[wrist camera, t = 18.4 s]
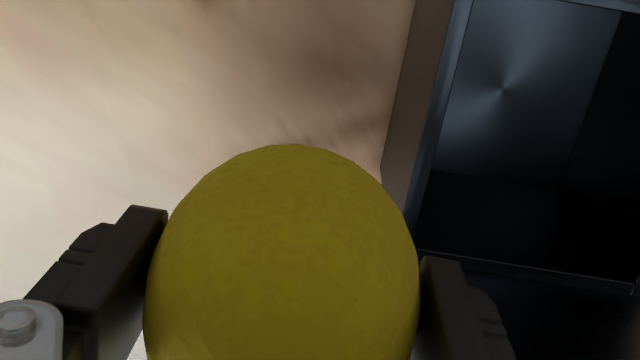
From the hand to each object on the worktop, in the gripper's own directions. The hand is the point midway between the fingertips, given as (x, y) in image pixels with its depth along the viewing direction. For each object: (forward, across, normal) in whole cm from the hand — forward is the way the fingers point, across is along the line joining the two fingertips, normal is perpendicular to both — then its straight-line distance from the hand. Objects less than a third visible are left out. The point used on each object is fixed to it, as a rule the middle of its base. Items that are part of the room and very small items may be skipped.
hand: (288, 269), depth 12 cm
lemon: (+4, 0, 0) cm, 4 cm away
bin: (+25, -11, 0) cm, 27 cm away
